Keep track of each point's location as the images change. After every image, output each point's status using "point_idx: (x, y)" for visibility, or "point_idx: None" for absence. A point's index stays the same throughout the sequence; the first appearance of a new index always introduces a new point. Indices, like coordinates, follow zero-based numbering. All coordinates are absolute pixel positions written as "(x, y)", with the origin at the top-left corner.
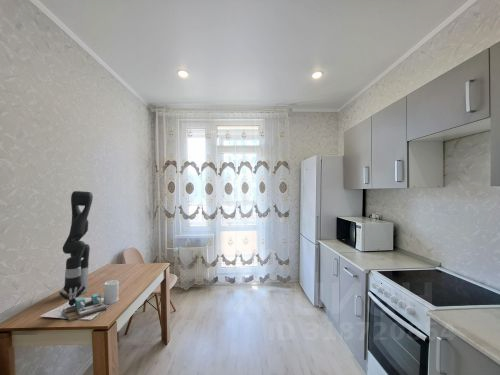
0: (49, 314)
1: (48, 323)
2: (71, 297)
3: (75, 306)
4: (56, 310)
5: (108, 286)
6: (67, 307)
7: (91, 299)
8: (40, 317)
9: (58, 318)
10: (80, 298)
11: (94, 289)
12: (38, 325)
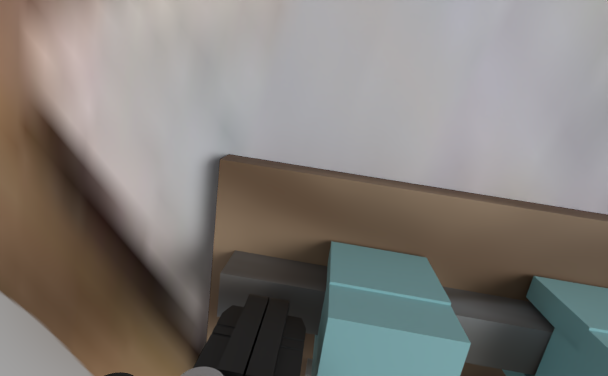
0: (104, 104)
1: (74, 315)
2: None
3: (308, 331)
4: (184, 45)
5: None
6: (228, 274)
7: (566, 315)
8: (22, 105)
9: (156, 290)
10: (406, 360)
11: None
12: (5, 282)
